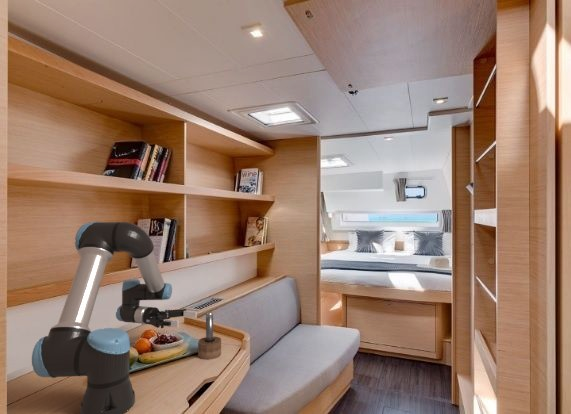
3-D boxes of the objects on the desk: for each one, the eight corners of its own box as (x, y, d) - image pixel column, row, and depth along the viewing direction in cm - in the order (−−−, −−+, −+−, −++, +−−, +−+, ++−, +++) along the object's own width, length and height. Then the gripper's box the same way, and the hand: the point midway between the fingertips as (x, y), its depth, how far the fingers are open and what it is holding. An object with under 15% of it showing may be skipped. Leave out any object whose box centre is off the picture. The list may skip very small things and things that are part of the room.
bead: (214, 360, 133) (214, 346, 133) (193, 357, 136) (193, 343, 136) (224, 351, 142) (224, 337, 143) (205, 348, 145) (205, 335, 145)
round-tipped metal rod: (210, 356, 137) (210, 312, 138) (204, 355, 138) (204, 312, 139) (214, 353, 140) (214, 310, 141) (208, 352, 141) (208, 310, 141)
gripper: (165, 316, 160) (202, 319, 154) (126, 332, 136) (169, 337, 130) (165, 300, 160) (202, 303, 154) (127, 314, 137) (169, 318, 130)
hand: (187, 319), depth 142 cm, fingers open, 13 cm apart
